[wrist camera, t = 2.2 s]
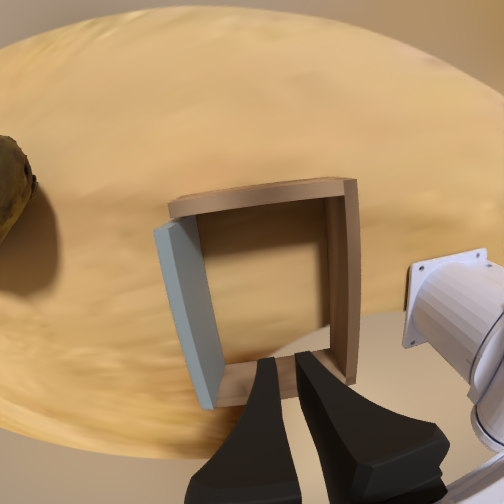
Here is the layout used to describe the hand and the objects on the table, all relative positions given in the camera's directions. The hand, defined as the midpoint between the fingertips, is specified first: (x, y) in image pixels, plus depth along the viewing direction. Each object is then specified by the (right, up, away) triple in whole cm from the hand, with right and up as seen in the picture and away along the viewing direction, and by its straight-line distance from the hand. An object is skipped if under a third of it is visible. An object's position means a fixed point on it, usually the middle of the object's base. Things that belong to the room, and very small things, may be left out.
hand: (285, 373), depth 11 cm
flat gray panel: (-5, +2, +9) cm, 10 cm away
